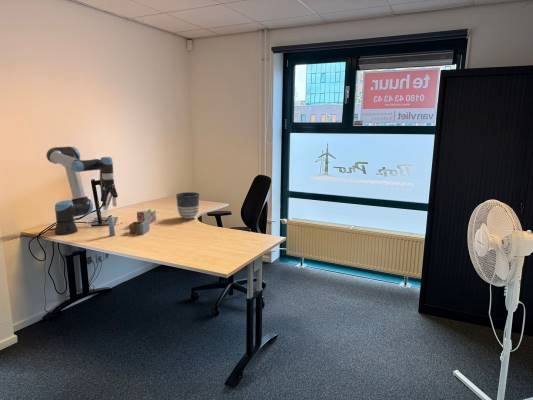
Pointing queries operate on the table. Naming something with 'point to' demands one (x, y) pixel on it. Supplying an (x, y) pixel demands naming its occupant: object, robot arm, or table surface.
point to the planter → (187, 204)
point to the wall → (144, 227)
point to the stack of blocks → (146, 215)
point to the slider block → (135, 228)
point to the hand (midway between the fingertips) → (110, 208)
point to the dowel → (111, 226)
